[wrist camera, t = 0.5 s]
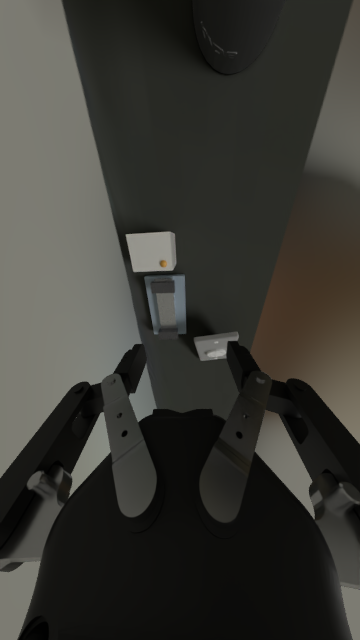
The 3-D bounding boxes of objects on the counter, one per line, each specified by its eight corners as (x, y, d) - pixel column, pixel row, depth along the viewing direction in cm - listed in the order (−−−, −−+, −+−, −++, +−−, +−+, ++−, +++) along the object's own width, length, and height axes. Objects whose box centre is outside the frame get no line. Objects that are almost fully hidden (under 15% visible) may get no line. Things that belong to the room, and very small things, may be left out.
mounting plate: (146, 275, 28) (144, 277, 27) (184, 274, 28) (184, 275, 27) (155, 330, 36) (154, 334, 34) (186, 330, 35) (186, 333, 34)
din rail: (153, 277, 27) (149, 281, 25) (175, 277, 27) (173, 280, 24) (161, 333, 34) (159, 340, 32) (178, 333, 34) (178, 340, 31)
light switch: (200, 364, 39) (194, 346, 26) (198, 344, 42) (191, 320, 29) (232, 360, 37) (240, 341, 25) (227, 340, 40) (232, 314, 28)
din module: (140, 235, 25) (125, 234, 19) (174, 233, 24) (169, 231, 18) (145, 264, 27) (133, 272, 21) (176, 263, 27) (172, 270, 21)
